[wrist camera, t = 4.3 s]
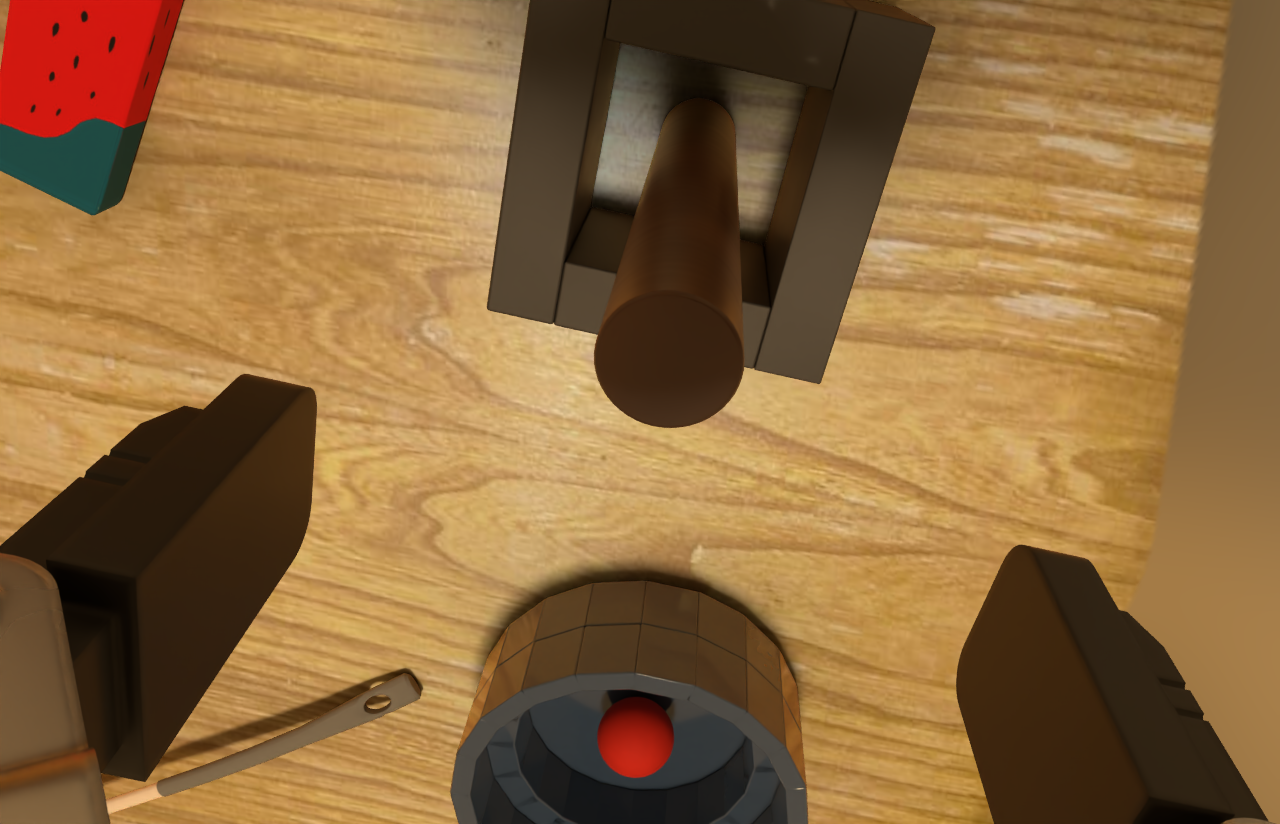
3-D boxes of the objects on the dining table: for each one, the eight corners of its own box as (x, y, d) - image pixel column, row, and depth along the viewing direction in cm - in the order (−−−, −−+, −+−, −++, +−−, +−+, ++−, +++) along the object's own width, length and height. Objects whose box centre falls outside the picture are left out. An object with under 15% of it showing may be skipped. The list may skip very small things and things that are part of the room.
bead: (683, 689, 41) (680, 746, 38) (667, 742, 43) (662, 801, 40) (609, 673, 41) (600, 729, 38) (595, 727, 43) (586, 785, 40)
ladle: (-104, 804, 49) (-173, 882, 44) (397, 581, 46) (377, 641, 41) (-23, 886, 51) (-81, 968, 46) (460, 678, 48) (448, 744, 43)
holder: (898, 7, 29) (936, 27, 24) (805, 311, 34) (820, 385, 29) (572, -68, 29) (538, -65, 24) (523, 248, 34) (485, 310, 28)
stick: (743, 107, 31) (761, 310, 15) (725, 180, 32) (724, 443, 16) (669, 90, 31) (608, 275, 15) (654, 164, 32) (581, 412, 16)
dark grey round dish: (837, 611, 40) (854, 719, 34) (752, 835, 46) (755, 956, 40) (508, 540, 39) (474, 638, 34) (468, 775, 45) (434, 889, 40)
